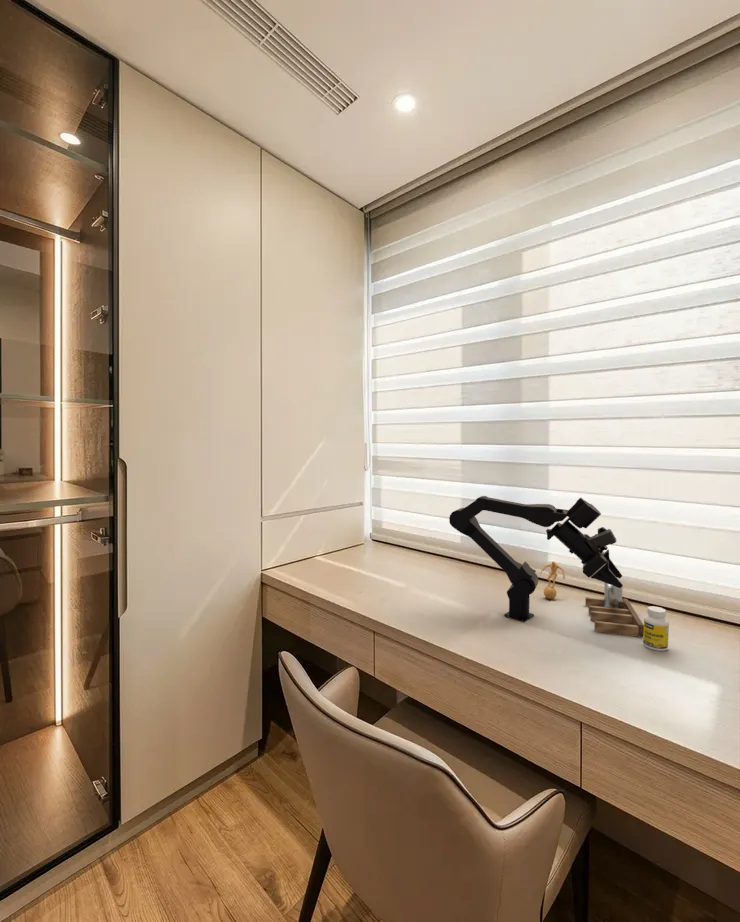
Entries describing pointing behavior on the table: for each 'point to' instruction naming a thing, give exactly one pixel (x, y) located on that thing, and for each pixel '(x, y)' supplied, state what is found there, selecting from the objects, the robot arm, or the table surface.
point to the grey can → (612, 596)
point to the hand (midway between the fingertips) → (621, 581)
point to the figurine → (550, 591)
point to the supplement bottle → (656, 629)
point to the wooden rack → (614, 618)
